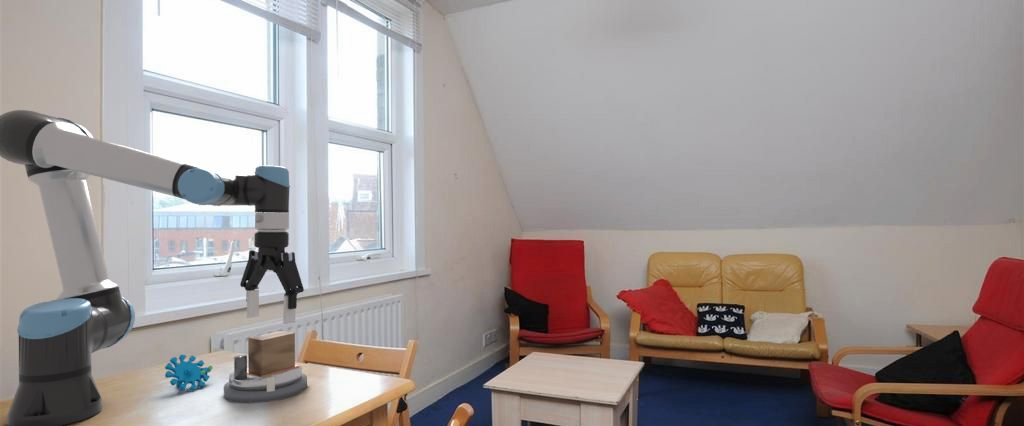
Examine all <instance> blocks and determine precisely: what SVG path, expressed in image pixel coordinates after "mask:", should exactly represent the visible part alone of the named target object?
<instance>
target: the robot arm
mask: <svg viewBox="0 0 1024 426" xmlns="http://www.w3.org/2000/svg"><path fill="white" fill-rule="evenodd" d="M0 157H1V158H3V159H4V160H6V161H8V162H11V163H13V164H18V165H23V166H24V168H25V171H26V176H27V179H28V181H30V182H31V183H33V184H36V185H37V186H38V188H39V193H40V197H41V201H42V206H43V210H44V213H45V218H46V222H47V227H48V231H49V235H50V239H51V243H52V248H53V251H54V256H55V260H56V264H57V270H58V273H59V277H60V278H59V279H60V282H61V286H62V291H61V293H59V295H58V296H57V298H56V299H54V300H53V299H52V300H50V301H42V302H39V303H36V304H32V305H30V306H27V307H26V308H24V310H22V311H21V313H20V314H19V317H18V325H17V334H18V336H17V337H18V386H17V389H16V392H15V394H14V396H13V399H12V402H11V404H10V406H9V409H8V412H7V416H6V418H7V419H6V420H7V421H6V425H7V426H65V425H70V424H73V423H78V422H80V421H83V420H87V419H88V418H92V417H94V416H95V415H97V414H98V413H100V412H101V411H102V409H103V402H102V401H103V399H102V396H101V394H100V391H99V389H98V387H97V384H96V382H95V379H94V377H93V374H92V353H95V352H97V351H100V350H102V349H106V348H111V347H113V346H114V345H116V344H118V343H119V342H121V341H122V340H123V339H125V338H126V337H127V336H129V334H130V332H131V331H132V330H133V327H134V324H135V321H136V313H135V312H136V311H135V308H134V306H133V305H132V303H131V302H130V300H128V299H126V298H125V297H123V296H122V294H121V291H120V286H119V284H117V283H115V282H113V281H111V280H110V277H109V274H108V269H107V265H106V262H105V261H106V260H105V257H104V252H103V248H102V245H101V239H100V235H99V232H98V226H97V223H96V219H95V215H94V210H93V205H92V202H91V196H90V193H89V189H88V184H87V179H88V178H89V177H90V175H91V176H94V177H98V178H102V179H106V180H108V181H109V180H110V181H114V182H118V183H122V184H125V185H129V186H133V187H136V188H137V187H138V188H142V189H145V190H147V191H148V190H149V191H152V192H155V193H160V194H164V195H167V196H171V197H176V198H179V199H181V200H185V201H187V202H189V203H192V204H193V205H194V204H195V205H200V206H213V207H214V206H215V207H216V206H217V207H220V206H249V207H250V206H252V207H253V206H254V213H255V215H254V229H255V230H257V231H255V233H254V240H253V241H254V244H253V246H254V247H255V248H256V249H250V250H249V251H248V259H247V263H246V265H245V269H244V271H243V274H242V277H241V280H240V287H241V288H244V290H245V291H246V301H245V302H246V318H247V319H250V318H251V319H252V318H256V317H259V315H260V313H259V312H260V311H259V310H260V305H259V304H260V290H259V289H260V287H259V285H260V283H261V281H262V280H263V277H264V276H265V274H266V273H267V271H272V272H273V273H275V274H276V276H277V278H278V280H279V282H280V284H281V286H282V288H283V290H284V292H285V293H284V294H283V314H282V315H283V319H282V320H283V322H282V323H283V325H288V324H293V323H296V309H297V307H298V306H297V303H298V302H297V298H298V294H300V293H303V292H304V291H305V289H304V286H303V282H302V279H301V276H300V275H301V274H300V272H299V270H298V267H297V263H296V254H295V252H294V251H287V252H286V250H285V249H286V248H287V247H289V245H290V244H289V242H290V241H289V240H290V239H289V238H290V237H289V236H290V235H289V234H290V233H289V232H288V231H287V230H289V229H290V187H291V185H290V171H289V169H288V168H287V167H284V166H280V165H257V166H256V167H255V171H254V173H249V174H247V173H246V174H244V173H243V174H242V173H227V172H222V171H219V170H213V169H209V168H206V167H202V166H198V165H196V164H195V165H194V164H190V163H187V162H183V161H179V160H176V159H172V158H167V157H165V156H161V155H157V154H153V153H150V152H146V151H143V150H139V149H136V148H135V149H134V148H132V147H128V146H125V145H120V144H117V143H113V142H109V141H106V140H102V139H98V138H94V137H93V135H92V134H91V132H90V131H88V129H86V128H85V127H84V126H83V125H80V124H78V123H77V122H74V121H72V120H69V119H67V118H64V117H63V118H62V117H57V116H52V115H47V114H44V113H40V112H37V111H34V110H27V109H16V110H10V111H8V112H5V113H2V114H1V115H0ZM257 248H258V249H257Z"/></svg>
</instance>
